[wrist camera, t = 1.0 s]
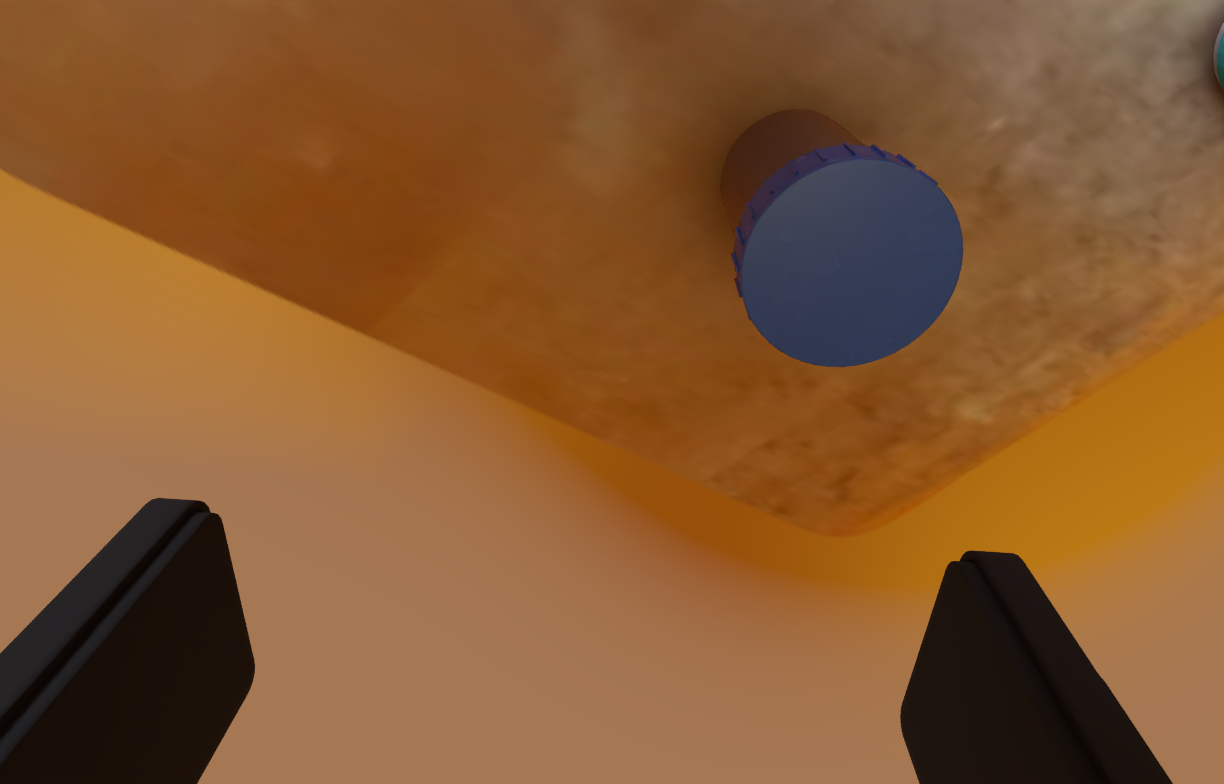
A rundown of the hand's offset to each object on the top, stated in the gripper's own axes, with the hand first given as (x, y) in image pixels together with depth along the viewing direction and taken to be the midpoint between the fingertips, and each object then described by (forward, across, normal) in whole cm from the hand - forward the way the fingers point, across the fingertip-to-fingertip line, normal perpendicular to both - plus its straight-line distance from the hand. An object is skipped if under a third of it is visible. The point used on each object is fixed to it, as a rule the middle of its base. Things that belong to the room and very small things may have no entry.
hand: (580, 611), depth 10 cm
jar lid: (+15, -7, 0) cm, 17 cm away
